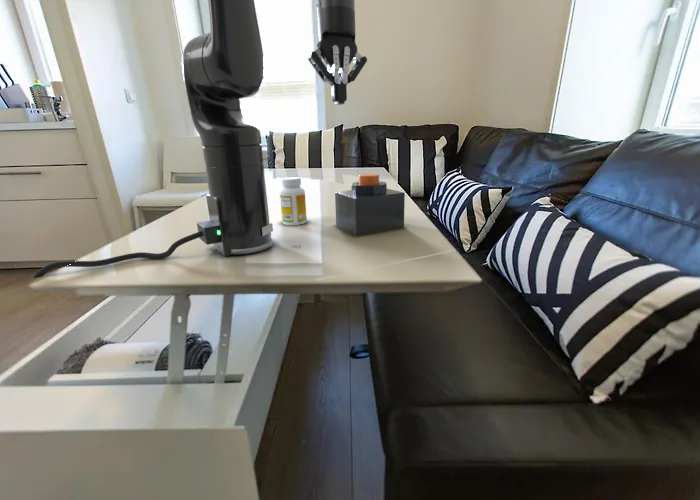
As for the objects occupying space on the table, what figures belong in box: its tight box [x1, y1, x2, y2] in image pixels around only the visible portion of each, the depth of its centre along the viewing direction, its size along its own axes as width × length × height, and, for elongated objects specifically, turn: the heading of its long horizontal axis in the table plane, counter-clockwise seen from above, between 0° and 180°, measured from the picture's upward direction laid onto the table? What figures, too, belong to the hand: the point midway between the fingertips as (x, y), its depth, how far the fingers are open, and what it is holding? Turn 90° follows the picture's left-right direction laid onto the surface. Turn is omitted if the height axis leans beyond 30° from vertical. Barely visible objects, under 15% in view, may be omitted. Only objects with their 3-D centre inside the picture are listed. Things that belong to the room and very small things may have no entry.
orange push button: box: [358, 173, 380, 185], centre depth 71 cm, size 4×4×2 cm
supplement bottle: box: [279, 176, 308, 226], centre depth 78 cm, size 5×5×10 cm
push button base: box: [334, 180, 406, 237], centre depth 72 cm, size 11×9×9 cm
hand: (339, 104), depth 76 cm, fingers closed
